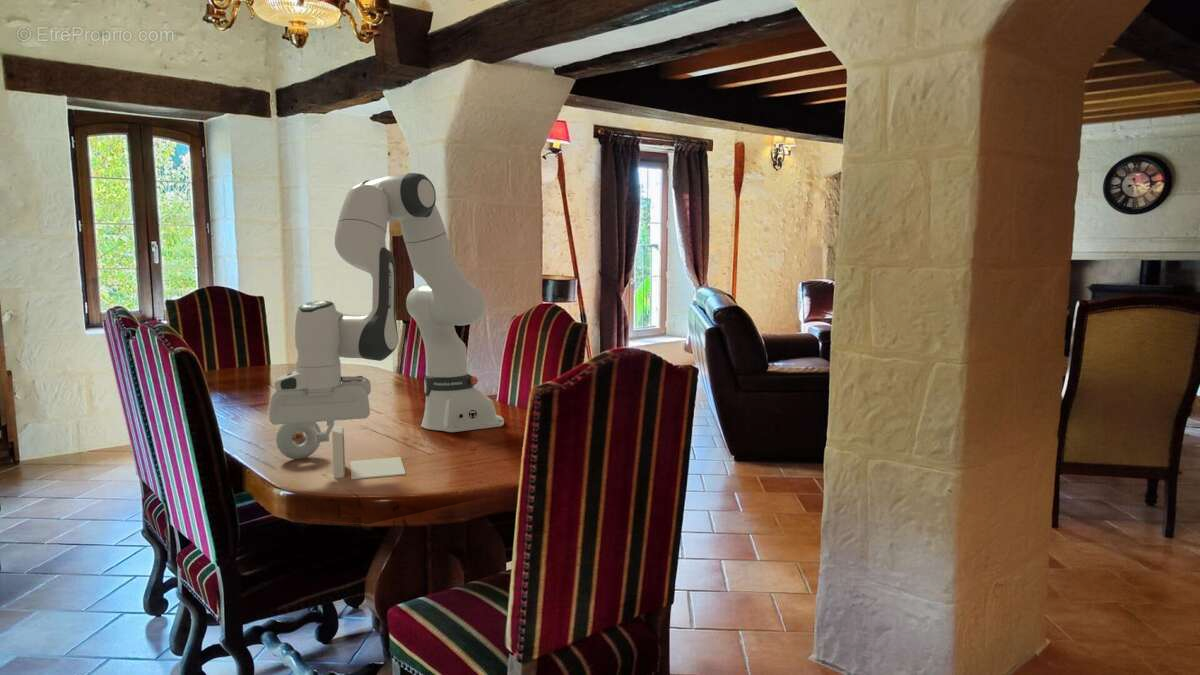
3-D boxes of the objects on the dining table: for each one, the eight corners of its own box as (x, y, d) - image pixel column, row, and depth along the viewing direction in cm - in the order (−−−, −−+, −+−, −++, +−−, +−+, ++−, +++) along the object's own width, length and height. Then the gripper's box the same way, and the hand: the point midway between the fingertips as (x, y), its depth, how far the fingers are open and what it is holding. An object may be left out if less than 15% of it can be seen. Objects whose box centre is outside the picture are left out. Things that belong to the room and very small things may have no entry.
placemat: (400, 458, 174) (400, 456, 174) (405, 474, 161) (405, 473, 161) (350, 462, 171) (350, 461, 171) (351, 479, 158) (351, 478, 158)
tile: (345, 466, 168) (343, 426, 167) (345, 477, 160) (343, 435, 159) (334, 467, 167) (332, 427, 166) (333, 478, 159) (332, 436, 158)
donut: (319, 453, 178) (317, 412, 177) (324, 456, 176) (322, 414, 174) (275, 461, 172) (273, 418, 171) (279, 464, 169) (277, 420, 168)
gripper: (369, 373, 167) (372, 434, 168) (269, 378, 160) (272, 441, 162) (370, 377, 161) (373, 440, 162) (266, 383, 154) (269, 448, 156)
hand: (322, 441), depth 162 cm, fingers closed
